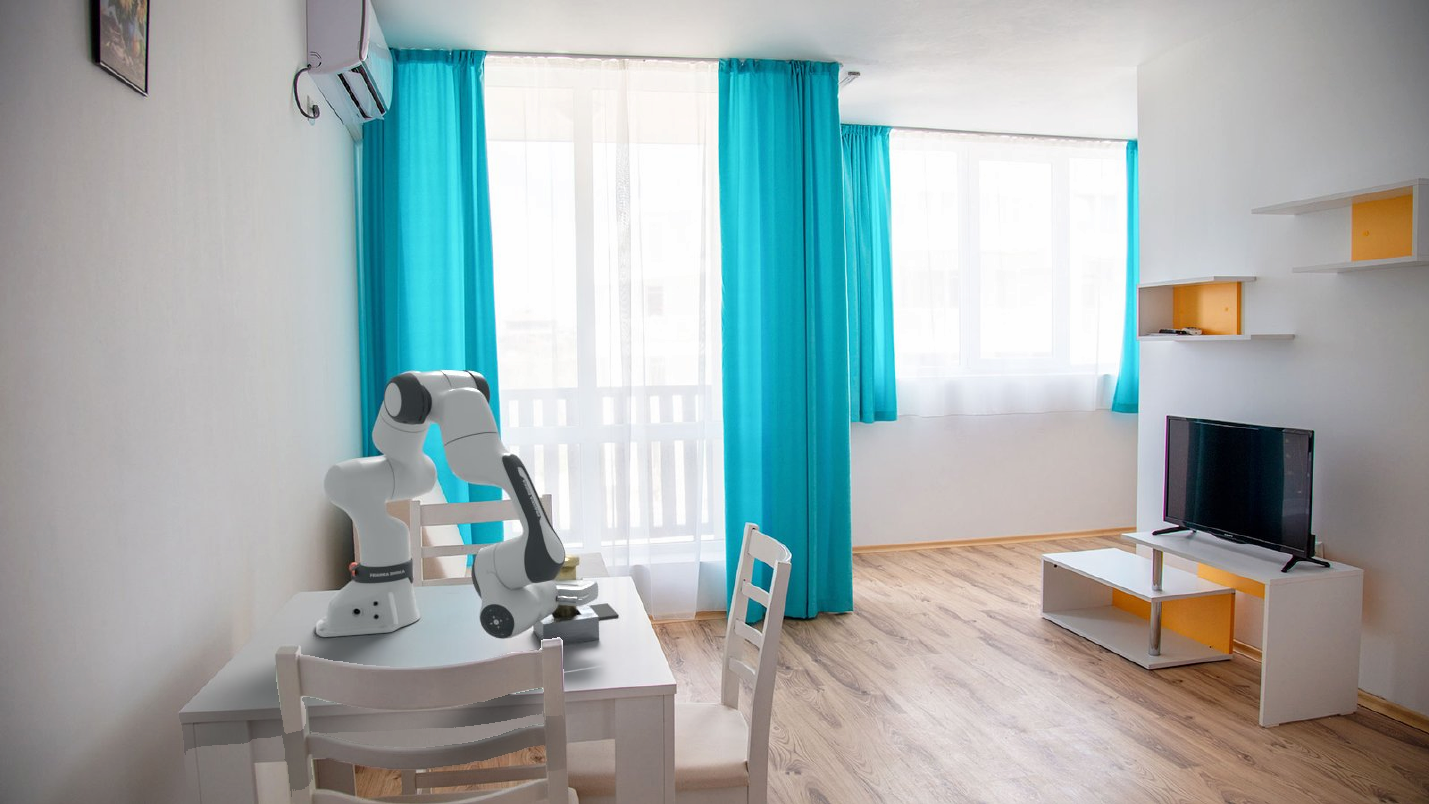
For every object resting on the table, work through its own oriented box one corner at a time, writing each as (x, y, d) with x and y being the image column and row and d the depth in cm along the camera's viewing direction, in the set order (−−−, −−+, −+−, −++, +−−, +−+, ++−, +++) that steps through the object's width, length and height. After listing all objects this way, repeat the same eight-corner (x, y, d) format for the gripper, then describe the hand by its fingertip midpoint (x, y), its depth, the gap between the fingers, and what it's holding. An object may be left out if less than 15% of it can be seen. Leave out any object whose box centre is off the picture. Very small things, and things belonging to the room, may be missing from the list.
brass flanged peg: (552, 624, 181) (551, 564, 180) (546, 615, 188) (545, 556, 187) (583, 620, 184) (582, 560, 183) (577, 611, 190) (575, 553, 189)
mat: (576, 623, 194) (576, 620, 194) (567, 610, 203) (566, 608, 203) (618, 617, 198) (618, 614, 197) (607, 605, 207) (607, 603, 207)
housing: (543, 647, 178) (543, 624, 178) (533, 630, 189) (532, 608, 189) (599, 639, 182) (598, 616, 182) (586, 623, 194) (585, 601, 193)
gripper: (582, 586, 170) (609, 568, 183) (492, 579, 175) (524, 563, 189) (583, 617, 170) (610, 597, 183) (493, 609, 176) (525, 591, 189)
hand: (566, 580), depth 186 cm, fingers closed on brass flanged peg, 5 cm apart
